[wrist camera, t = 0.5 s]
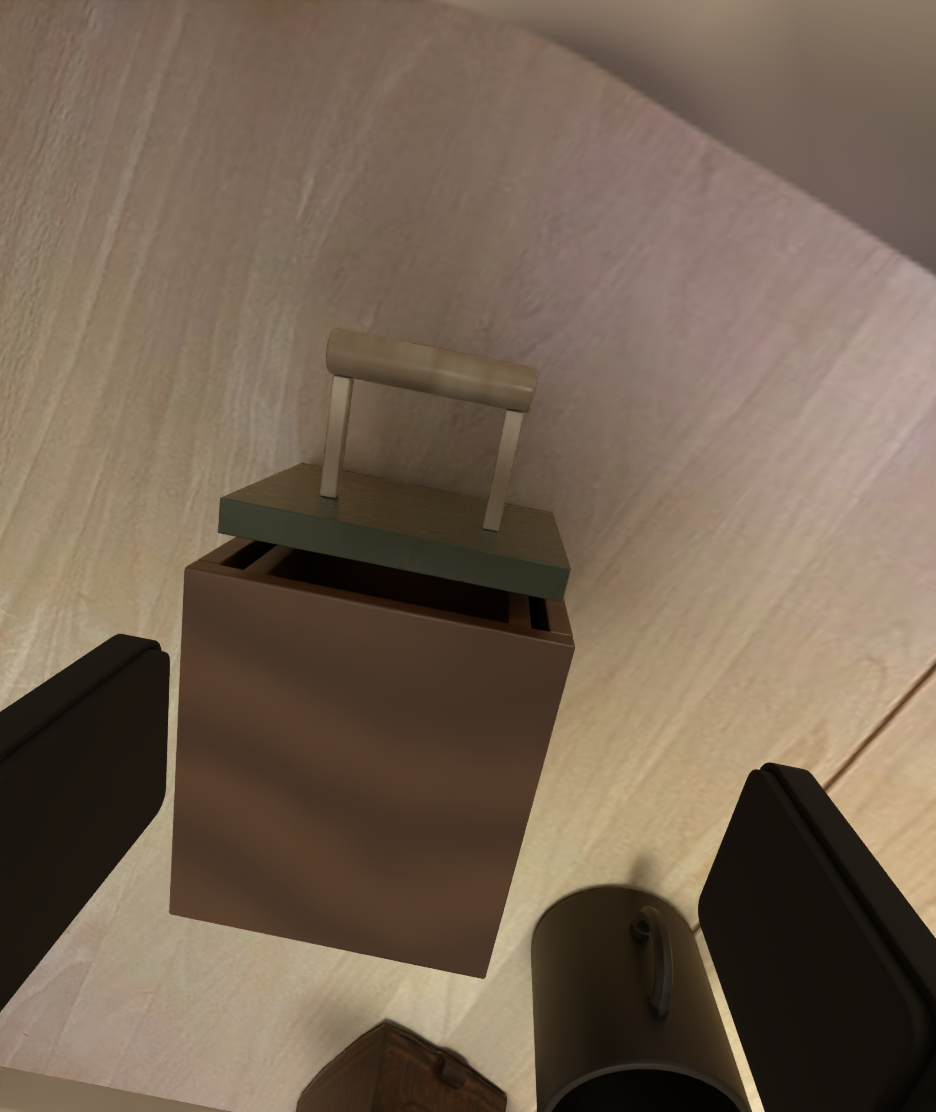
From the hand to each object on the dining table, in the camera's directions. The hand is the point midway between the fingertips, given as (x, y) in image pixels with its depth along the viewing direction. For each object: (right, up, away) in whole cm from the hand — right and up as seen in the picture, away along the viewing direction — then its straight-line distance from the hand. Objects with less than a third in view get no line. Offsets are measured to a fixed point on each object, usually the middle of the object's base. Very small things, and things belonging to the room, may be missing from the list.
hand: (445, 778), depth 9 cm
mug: (+9, -18, +25) cm, 32 cm away
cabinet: (-3, -2, +20) cm, 21 cm away
